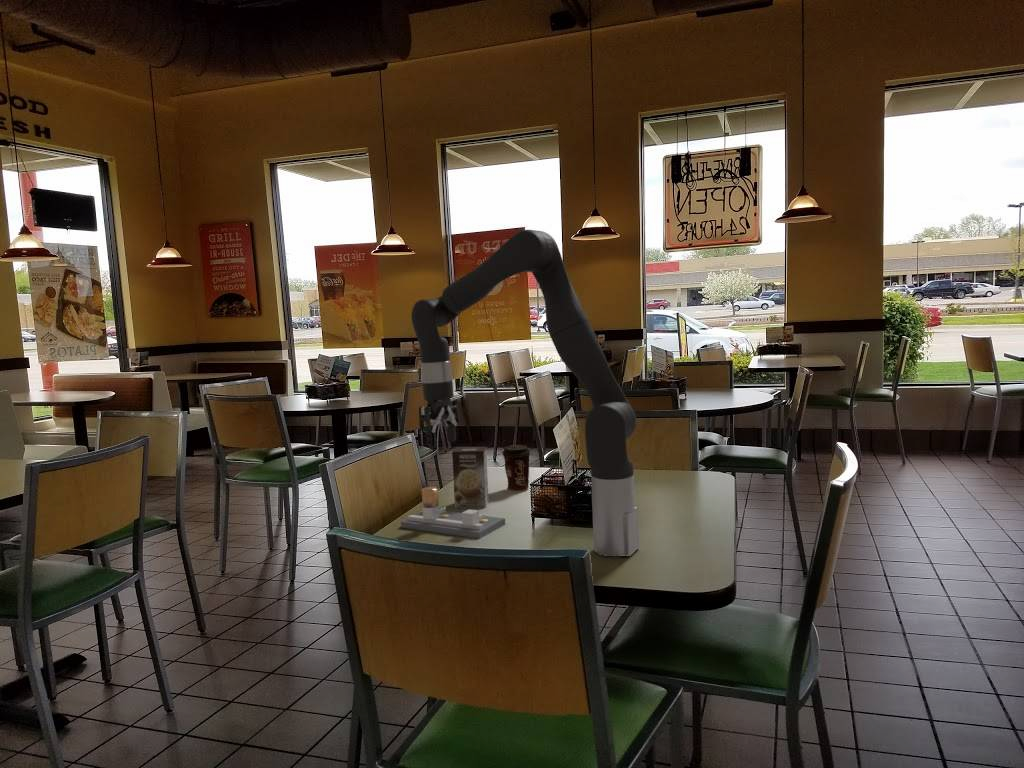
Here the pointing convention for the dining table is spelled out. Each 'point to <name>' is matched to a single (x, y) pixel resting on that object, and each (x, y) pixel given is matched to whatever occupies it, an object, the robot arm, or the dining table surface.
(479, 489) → the coffee box
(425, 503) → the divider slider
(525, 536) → the dining table surface
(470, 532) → the plate
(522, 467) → the coffee cup
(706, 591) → the dining table surface
